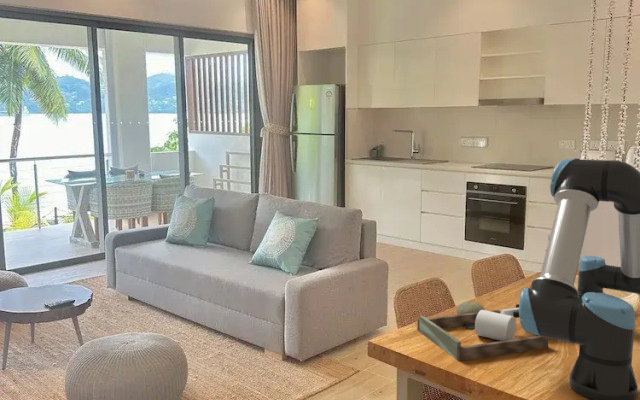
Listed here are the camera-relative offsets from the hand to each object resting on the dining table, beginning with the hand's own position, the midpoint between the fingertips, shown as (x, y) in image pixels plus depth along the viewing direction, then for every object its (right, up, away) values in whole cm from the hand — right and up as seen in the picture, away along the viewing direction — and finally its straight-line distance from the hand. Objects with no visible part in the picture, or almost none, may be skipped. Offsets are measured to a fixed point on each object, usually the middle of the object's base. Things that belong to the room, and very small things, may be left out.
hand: (502, 314), depth 174 cm
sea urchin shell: (-5, -4, +17) cm, 18 cm away
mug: (-2, -7, -1) cm, 7 cm away
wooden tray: (-8, -7, -3) cm, 11 cm away
